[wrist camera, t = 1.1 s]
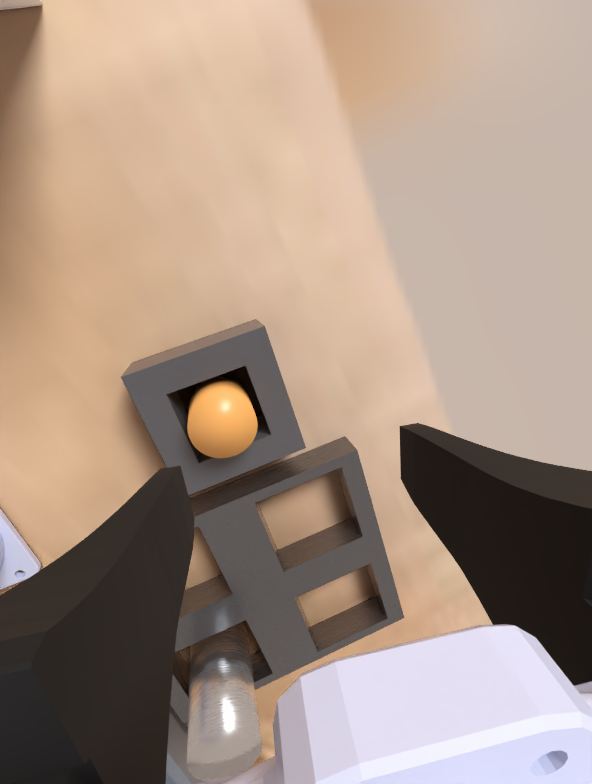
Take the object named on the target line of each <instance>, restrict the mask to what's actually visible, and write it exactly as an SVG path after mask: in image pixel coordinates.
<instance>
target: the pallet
mask: <svg viewBox="0 0 592 784" xmlns="http://www.w3.org/2000/svg"><path fill="white" fill-rule="evenodd" d="M333 470H337V473H338V476H339V480H340V483H341V486H342V489H343V492H344V496H345V499H346V502H347V505H348V508H349V512H350V515H351V519H348V520H346V521H344V522H341V523H339V524H337V525H335V526H332V527H330V528H328V529H325V530H323V531H321V532H319V533H316V534H314V535H312V536H309V537H307V538H305V539H302V540H300V541H298V542H296V543H293V544H291V545H289V546H286V547H284V548H282V549H280V550H277V548H276V545H275V543H274V541H273V538H272V536H271V533H270V531H269V529H268V526H267V524H266V522H265V519H264V517H263V514H262V512H261V510H260V507H259V505H258V502H259V501H261V500H264V499H266V498H268V497H271V496H273V495H276V494H278V493H280V492H283V491H285V490H288V489H290V488H292V487H295V486H297V485H300V484H302V483H304V482H307V481H309V480H312V479H314V478H316V477H319V476H321V475H324V474H326V473H328V472H331V471H333ZM190 503H191V507H192V511H193V515H194V518H195V520H194V528H196V527H199V528H200V530H201V532H202V534H203V536H204V538H205V540H206V542H207V544H208V546H209V548H210V550H211V552H212V554H213V556H214V558H215V560H216V562H217V564H218V566H219V568H220V570H221V572H222V575H220V576H218V577H215V578H213V579H211V580H209V581H206V582H204V583H202V584H199V585H197V586H195V587H193V588H190V589H188V590H186V591H184V595H183V600H182V605H181V610H180V615H179V621H178V627H177V634H176V644H175V655H174V665H173V676H172V689H171V702H170V705H171V706H172V708H173V709H174V711H175V712H176V714H177V715H178V716H179V718H180V719H181V721H182V722H183V724H185V723H187V722H188V708H189V675H190V669H189V667H188V665H187V664H186V662H185V661H184V659H183V657H182V656H181V654H180V653H179V650H182V649H184V648H186V647H188V646H190V645H192V644H195V643H197V642H199V641H201V640H203V639H206V638H208V637H210V636H212V635H214V634H217V633H219V632H221V631H223V630H225V629H228V628H230V627H232V626H234V625H236V624H239V623H241V622H243V621H245V620H246V621H247V623H248V625H249V627H250V629H251V631H252V633H253V635H254V637H255V639H256V641H257V643H258V645H259V647H260V648H261V651H259V652H257V653H255V654H252V655H250V657H251V665H252V673H253V681H254V688H255V690H256V689H258V688H260V687H262V686H264V685H266V684H268V683H270V682H272V681H274V680H276V679H278V678H280V677H283V676H285V675H287V674H289V673H291V672H293V671H295V670H297V669H299V668H301V667H303V666H305V665H307V664H309V663H312V662H314V661H316V660H318V659H320V658H322V657H324V656H326V655H328V654H330V653H332V652H334V651H336V650H339V649H341V648H343V647H345V646H347V645H349V644H351V643H353V642H355V641H357V640H359V639H361V638H363V637H365V636H368V635H370V634H372V633H374V632H376V631H378V630H380V629H382V628H384V627H386V626H388V625H390V624H392V623H394V622H397V621H399V620H401V619H403V618H404V615H403V612H402V608H401V605H400V601H399V598H398V594H397V590H396V587H395V583H394V580H393V576H392V573H391V569H390V565H389V562H388V558H387V555H386V551H385V548H384V544H383V541H382V537H381V533H380V530H379V526H378V523H377V519H376V516H375V512H374V509H373V505H372V501H371V498H370V494H369V491H368V487H367V484H366V480H365V476H364V473H363V469H362V466H361V462H360V459H359V455H358V452H357V449H356V448H355V447H354V446H353V445H352V444H351V443H350V441H349V440H348V439H347V438H346V437H343V438H340V439H338V440H335V441H333V442H330V443H328V444H325V445H323V446H320V447H318V448H315V449H313V450H310V451H308V452H306V453H303V454H301V455H298V456H296V457H293V458H291V459H288V460H286V461H283V462H281V463H278V464H276V465H273V466H271V467H269V468H266V469H264V470H261V471H259V472H256V473H254V474H251V475H249V476H246V477H244V478H241V479H239V480H236V481H234V482H232V483H229V484H227V485H224V486H222V487H219V488H217V489H214V490H212V491H209V492H207V493H204V494H202V495H200V496H197V497H195V498H192V499H190ZM363 566H367V569H368V573H369V576H370V579H371V582H372V585H373V589H374V592H375V595H376V597H374V598H372V599H370V600H367V601H365V602H363V603H361V604H359V605H357V606H355V607H353V608H350V609H348V610H346V611H344V612H342V613H340V614H338V615H336V616H333V617H331V618H329V619H327V620H325V621H323V622H321V623H318V624H316V625H314V626H312V627H310V626H309V624H308V621H307V619H306V617H305V614H304V612H303V610H302V607H301V605H300V602H299V600H298V598H297V597H298V596H300V595H302V594H304V593H306V592H309V591H311V590H313V589H315V588H317V587H320V586H322V585H324V584H326V583H328V582H331V581H333V580H335V579H337V578H339V577H342V576H344V575H346V574H348V573H350V572H352V571H355V570H357V569H359V568H361V567H363Z"/></svg>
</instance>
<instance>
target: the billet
mask: <svg viewBox="0 0 592 784" xmlns="http://www.w3.org/2000/svg"><path fill="white" fill-rule="evenodd" d="M261 748H262V743H261V735H260V727H259V720H258V712H257V704H256V696H255V688H254V681H253V673H252V665H251V657H250V649H249V642H248V634H247V629H246V626H245V625H244V623H243V622H241V623H239V624H236V625H234V626H232V627H230V628H228V629H225V630H223V631H221V632H219V633H217V634H214V635H212V636H210V637H208V638H206V639H203V640H201V641H199V642H197V643H195V644H192V645H190V675H189V708H188V741H187V769H188V771H189V773H190V774H191V775H192V776H193V777H194V778H196V779H198V780H201V781H210V780H214V779H217V778H221V777H225V776H229V775H233V774H237V773H240V772H244V771H245V770H247V769H248V768H249V767H250V766H251V765H252V764H253V763H254V762H255V761H256V760H257V758H258V757H259V755H260V752H261Z"/></svg>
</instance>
